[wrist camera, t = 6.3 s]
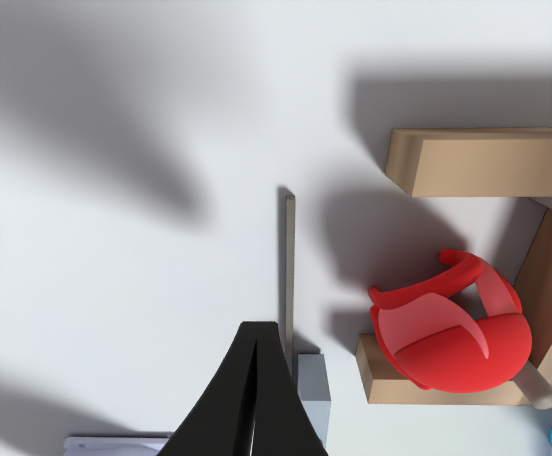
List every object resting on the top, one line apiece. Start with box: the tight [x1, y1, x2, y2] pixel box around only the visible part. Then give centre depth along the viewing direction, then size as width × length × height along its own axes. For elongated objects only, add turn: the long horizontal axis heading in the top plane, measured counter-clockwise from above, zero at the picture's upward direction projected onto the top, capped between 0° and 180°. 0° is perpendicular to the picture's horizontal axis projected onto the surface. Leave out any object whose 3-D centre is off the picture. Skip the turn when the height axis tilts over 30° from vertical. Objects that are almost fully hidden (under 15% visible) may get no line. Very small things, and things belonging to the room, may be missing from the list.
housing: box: [286, 127, 552, 409], centre depth 14 cm, size 14×20×4 cm
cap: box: [368, 249, 532, 393], centre depth 14 cm, size 8×6×6 cm
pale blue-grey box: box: [297, 354, 331, 449], centre depth 17 cm, size 2×5×4 cm, turn 1°
